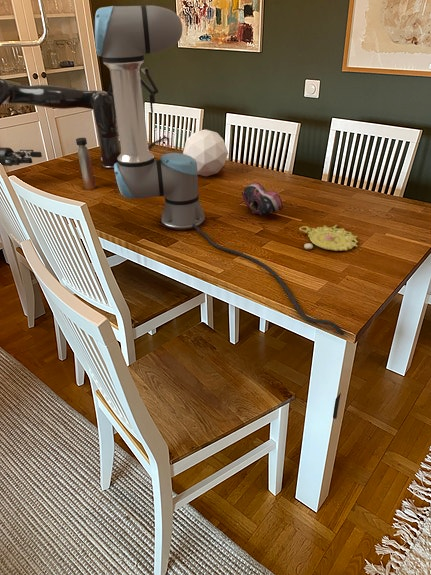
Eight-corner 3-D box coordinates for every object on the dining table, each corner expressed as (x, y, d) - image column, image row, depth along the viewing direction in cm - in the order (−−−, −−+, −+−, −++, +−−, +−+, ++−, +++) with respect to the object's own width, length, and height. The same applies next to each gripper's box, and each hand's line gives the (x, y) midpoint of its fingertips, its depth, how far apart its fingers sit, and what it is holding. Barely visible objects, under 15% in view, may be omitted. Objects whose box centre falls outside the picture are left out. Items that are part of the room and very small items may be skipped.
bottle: (98, 187, 189) (89, 139, 178) (89, 190, 186) (80, 141, 175) (90, 185, 192) (82, 137, 181) (82, 188, 188) (72, 140, 178)
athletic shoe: (254, 181, 170) (227, 189, 167) (283, 176, 151) (253, 185, 147) (260, 210, 173) (234, 218, 170) (290, 209, 154) (261, 219, 150)
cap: (89, 143, 179) (88, 138, 178) (81, 146, 177) (80, 140, 175) (82, 142, 181) (81, 137, 180) (74, 144, 179) (73, 139, 178)
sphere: (211, 192, 199) (209, 165, 180) (177, 170, 204) (171, 142, 185) (236, 162, 204) (236, 133, 185) (201, 142, 209) (198, 112, 190)
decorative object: (343, 255, 128) (285, 234, 139) (342, 262, 130) (284, 241, 140) (372, 230, 142) (317, 213, 152) (371, 237, 143) (316, 219, 153)
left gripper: (-12, 152, 178) (26, 153, 176) (6, 143, 190) (42, 143, 188) (-7, 170, 182) (30, 171, 180) (11, 160, 194) (46, 161, 192)
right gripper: (160, 52, 174) (165, 109, 185) (95, 55, 171) (104, 113, 182) (161, 54, 167) (166, 113, 179) (94, 56, 165) (103, 116, 176)
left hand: (36, 157), depth 184 cm, fingers open, 8 cm apart
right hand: (135, 113), depth 181 cm, fingers open, 13 cm apart
